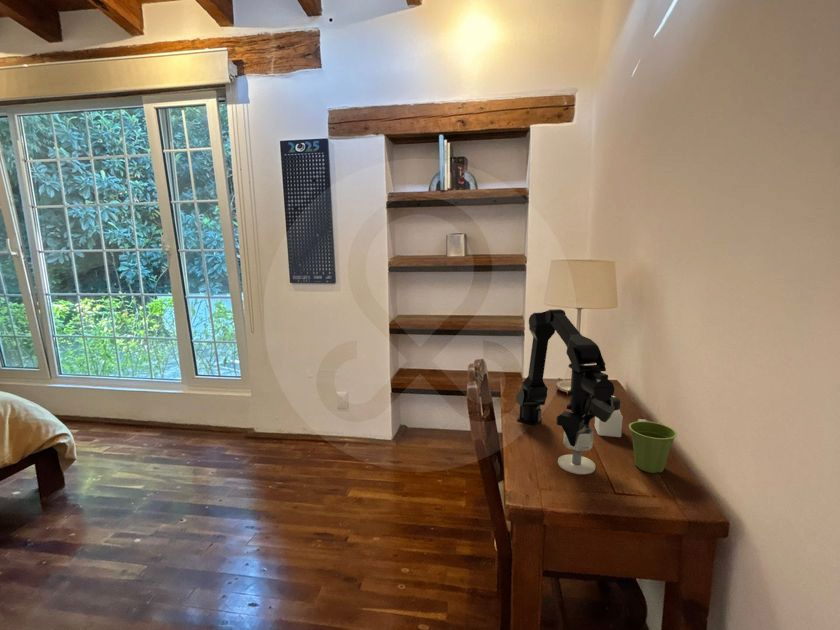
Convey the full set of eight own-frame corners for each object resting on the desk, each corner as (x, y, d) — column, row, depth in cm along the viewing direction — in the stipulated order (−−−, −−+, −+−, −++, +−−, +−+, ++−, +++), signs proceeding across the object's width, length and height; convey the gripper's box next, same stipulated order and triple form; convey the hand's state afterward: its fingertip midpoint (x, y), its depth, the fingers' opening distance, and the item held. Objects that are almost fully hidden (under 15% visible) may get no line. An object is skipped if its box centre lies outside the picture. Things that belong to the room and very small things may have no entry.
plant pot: (665, 459, 129) (669, 422, 127) (678, 480, 118) (683, 441, 116) (621, 454, 132) (624, 418, 130) (630, 475, 121) (634, 436, 119)
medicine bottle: (621, 437, 143) (624, 402, 141) (598, 435, 145) (600, 400, 142) (616, 428, 150) (619, 394, 148) (594, 426, 151) (596, 392, 149)
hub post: (552, 466, 125) (553, 451, 124) (565, 453, 133) (566, 438, 132) (588, 478, 119) (589, 462, 118) (600, 463, 127) (601, 448, 126)
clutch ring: (560, 445, 124) (561, 428, 124) (569, 436, 130) (570, 420, 129) (586, 453, 120) (587, 436, 119) (595, 444, 125) (596, 427, 125)
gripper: (600, 405, 110) (595, 463, 113) (622, 385, 124) (617, 437, 127) (557, 394, 117) (553, 449, 120) (582, 377, 131) (578, 427, 134)
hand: (577, 441), depth 125 cm, fingers closed on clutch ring, 7 cm apart
